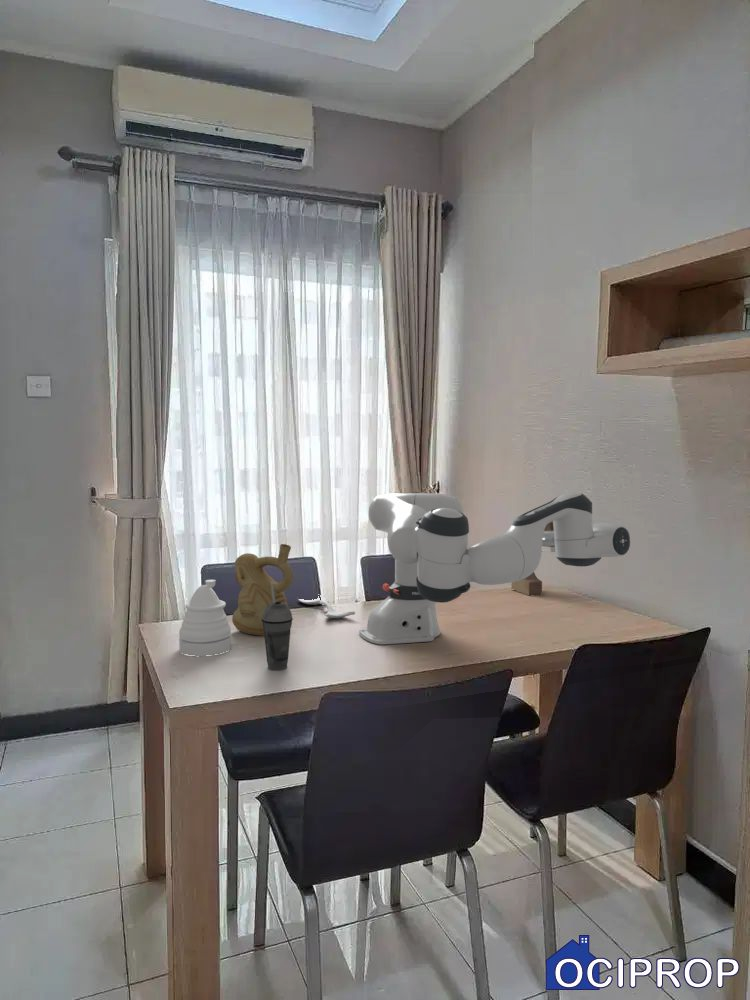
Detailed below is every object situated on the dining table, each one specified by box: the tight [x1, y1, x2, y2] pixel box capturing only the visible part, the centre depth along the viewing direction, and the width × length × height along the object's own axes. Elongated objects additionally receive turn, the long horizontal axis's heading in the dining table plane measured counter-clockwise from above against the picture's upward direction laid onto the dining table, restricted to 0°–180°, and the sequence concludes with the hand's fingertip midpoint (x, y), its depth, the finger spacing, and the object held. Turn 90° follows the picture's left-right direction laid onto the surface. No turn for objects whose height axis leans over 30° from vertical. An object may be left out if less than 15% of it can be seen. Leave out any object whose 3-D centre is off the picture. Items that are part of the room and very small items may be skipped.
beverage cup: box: [262, 584, 294, 671], centre depth 161 cm, size 7×7×20 cm
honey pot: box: [178, 579, 232, 656], centre depth 175 cm, size 13×13×18 cm
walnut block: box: [541, 521, 556, 553], centre depth 197 cm, size 5×5×10 cm
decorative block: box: [511, 551, 543, 597], centre depth 242 cm, size 11×6×20 cm, turn 23°
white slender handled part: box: [297, 594, 356, 619], centre depth 216 cm, size 9×32×4 cm, turn 24°
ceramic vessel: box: [231, 543, 294, 636], centre depth 192 cm, size 17×20×25 cm
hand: (550, 536), depth 198 cm, fingers closed on walnut block, 5 cm apart
